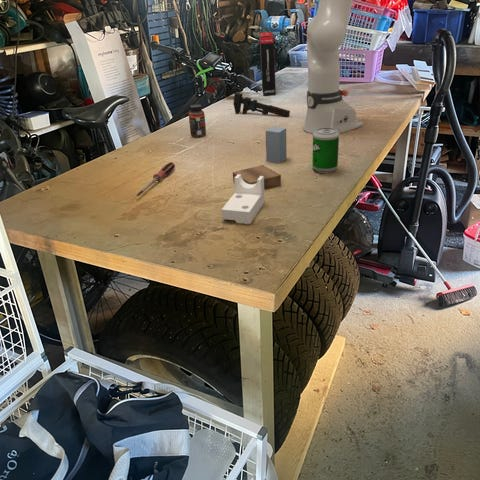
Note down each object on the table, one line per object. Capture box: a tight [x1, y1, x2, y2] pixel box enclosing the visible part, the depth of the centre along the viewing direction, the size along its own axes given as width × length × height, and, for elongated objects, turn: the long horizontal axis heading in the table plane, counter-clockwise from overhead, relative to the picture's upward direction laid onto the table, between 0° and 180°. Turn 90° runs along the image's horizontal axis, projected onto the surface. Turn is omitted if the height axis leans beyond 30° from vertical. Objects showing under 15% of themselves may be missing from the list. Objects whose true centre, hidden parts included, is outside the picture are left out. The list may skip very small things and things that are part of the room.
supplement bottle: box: [188, 104, 207, 138], centre depth 179 cm, size 6×6×11 cm
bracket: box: [221, 174, 266, 225], centre depth 120 cm, size 13×7×8 cm, turn 161°
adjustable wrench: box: [232, 92, 291, 118], centre depth 202 cm, size 8×3×25 cm
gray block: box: [265, 126, 288, 164], centre depth 151 cm, size 5×5×10 cm
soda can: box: [311, 128, 340, 174], centre depth 140 cm, size 8×8×12 cm
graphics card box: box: [258, 31, 277, 97], centre depth 233 cm, size 17×7×27 cm, turn 179°
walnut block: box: [232, 164, 282, 190], centre depth 136 cm, size 10×10×3 cm
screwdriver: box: [135, 161, 176, 197], centre depth 141 cm, size 25×3×3 cm, turn 163°
